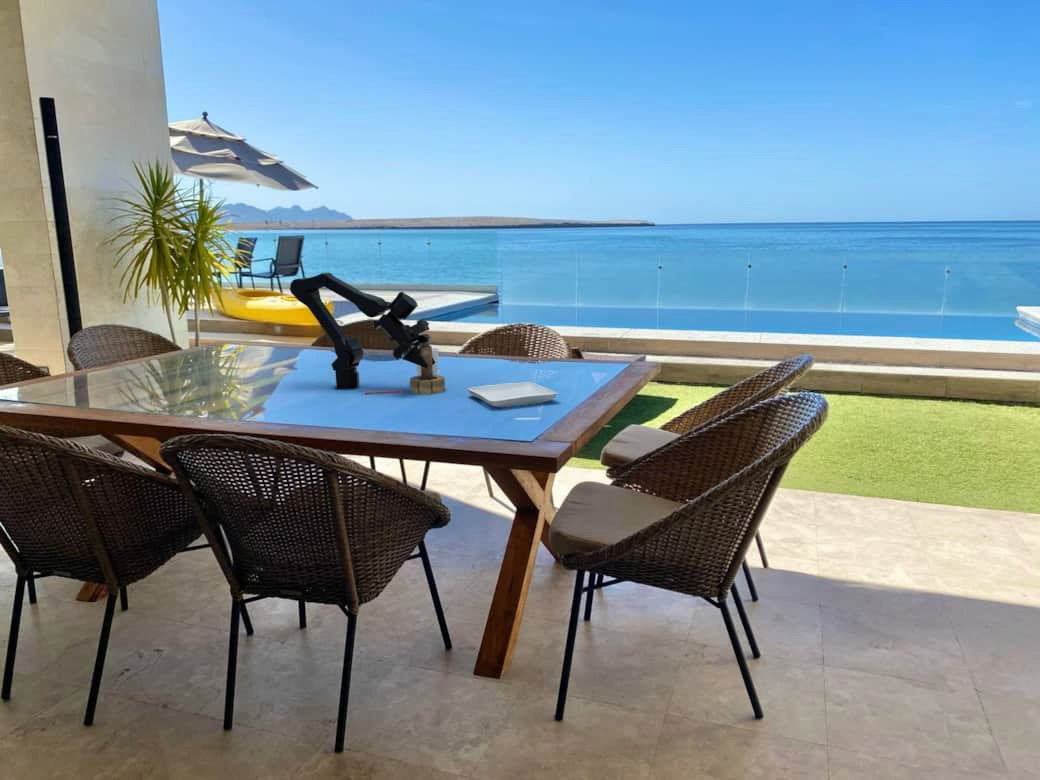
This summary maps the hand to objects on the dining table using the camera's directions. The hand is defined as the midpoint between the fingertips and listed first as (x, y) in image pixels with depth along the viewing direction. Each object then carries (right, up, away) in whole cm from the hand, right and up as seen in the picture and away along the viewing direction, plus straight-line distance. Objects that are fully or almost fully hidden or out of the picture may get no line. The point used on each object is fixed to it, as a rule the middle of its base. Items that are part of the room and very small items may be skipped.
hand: (430, 365), depth 240 cm
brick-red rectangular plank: (-14, -9, 0) cm, 17 cm away
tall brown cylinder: (-1, -8, +2) cm, 8 cm away
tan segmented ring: (-1, -8, +2) cm, 8 cm away
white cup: (-4, -4, +22) cm, 22 cm away
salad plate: (+25, -11, -12) cm, 30 cm away
